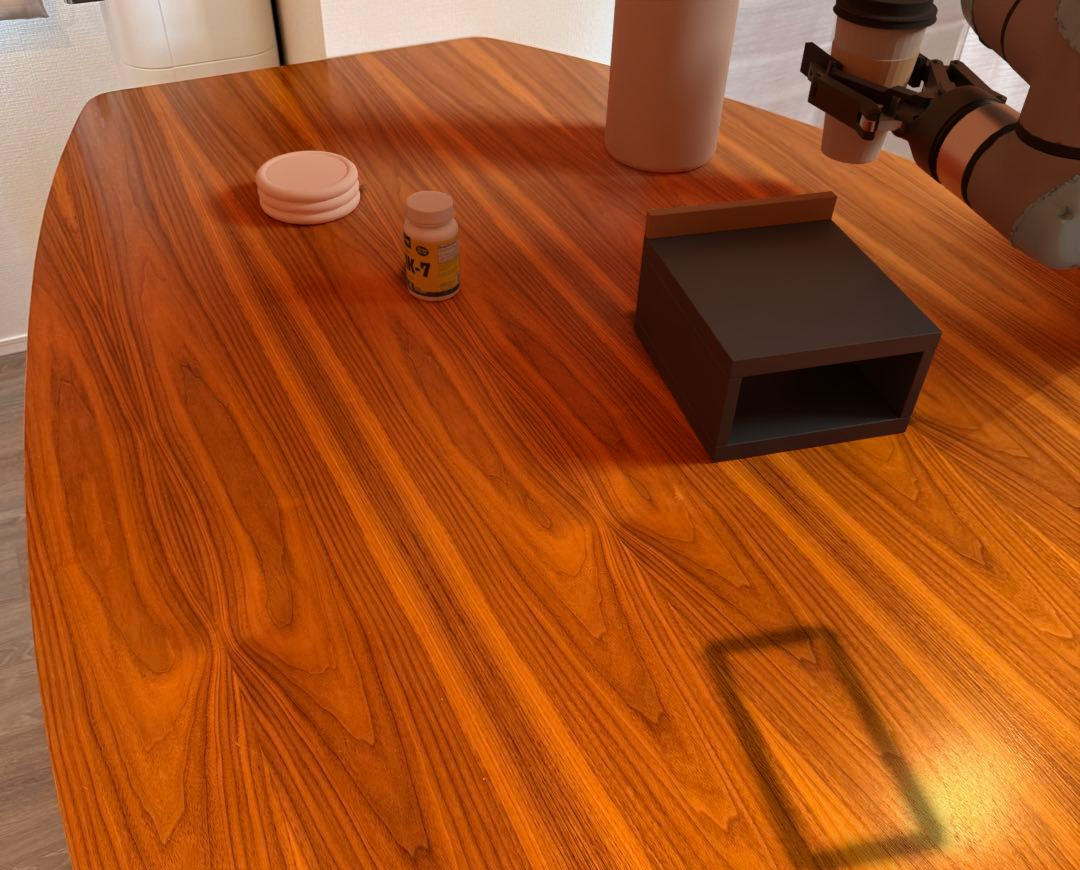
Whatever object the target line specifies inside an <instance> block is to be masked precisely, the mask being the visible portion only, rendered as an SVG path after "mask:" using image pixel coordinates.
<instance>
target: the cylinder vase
mask: <svg viewBox="0 0 1080 870" xmlns="http://www.w3.org/2000/svg"><path fill="white" fill-rule="evenodd" d="M739 6H740V0H614V10H613V21H612V22H613V23H612V34H611V35H612V36H611V37H612V38H611V50H610V62H609V63H610V64H609V76H608V77H609V78H608V79H609V80H608V88H607V89H608V91H607V104H606V116H605V117H606V118H605V128H604V130H605V131H604V146H605V149H606V151H607V152H608V154H609V155H610V156H611V157H612V158H613V159H615V161H618V162H619V163H621V164H622V165H625V166H627V167H630V168H633V169H637V170H640V171H645V172H651V173H659V174H660V173H663V174H665V173H666V174H671V173H672V174H673V173H684V172H688V171H692V170H695V169H698V168H700V167H703V166H704V165H706V164H707V163H710V161H711V160H712V159H713V157H714V156H715V154H716V152H717V146H718V139H719V133H720V127H721V120H722V113H723V106H724V101H725V95H726V90H727V89H726V88H727V83H728V76H729V69H730V63H731V57H732V50H733V44H734V37H735V33H736V32H735V31H736V24H737V18H738V12H739Z"/></svg>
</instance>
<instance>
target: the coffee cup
mask: <svg viewBox="0 0 1080 870" xmlns="http://www.w3.org/2000/svg"><path fill="white" fill-rule="evenodd" d="M934 2H935V0H835V4H834V5H833V7H832V11H833V13H834V15H835V16H836V22H835V29H834V30H835V31H834V36H833V37H834V38H833V40H832V42H831V49H830V56H832V57H833V58H834V59H836V60H838V61H840V63H841V64H842V65H843V70H842V71H844V72H847V73H849V74H852V75H855V76H857V77H860V78H863V79H866V80H868V81H871V82H874V83H876V84H879V85H882V86H885V87H887V88H892V87H894V86H897V85H899V86H902V87H905V88H908V82H909V79H910V76H911V74H912V71H913V68H914V66H915V63H916V60H917V58H918V55H919V52H920V53H921V46H922V43H923V40H924V37H925V34H926V31H927V29H928V28H929V27H932V26H933V25H935V24H936V22H937V21H938V18H937V15H938V11H939V9H938V7H937V5H936V4H935V3H934ZM900 99H901V98H899V99H898V102H899V100H900ZM897 104H898V103H897ZM896 107H897V106H896ZM888 133H889V131H877V132H876V135H875V139H874V140H871V141H867V140H864V139H862V138H861V137H860V136H859V135H858V133H857V132H856V131H855V130H854V129H852V128H851V127H849V126H847V125H845V124H844V123H842V122H840V121H839V120H837V119H835V118H834V117H832V116H830V115H829V114H827V113H825V112H824V122H823V128H822V136H821V146H820V151H821V153H822V154H823V155H824V156H825V157H826V158H828V159H831V160H833V161H836V162H839V163H843V164H848V165H866V164H869V163H872V162H874V161H876V160H877V159H878V158H879V156H880V154H881V152H882V149H883V146H884V143H885V141H886V138H887V136H888Z"/></svg>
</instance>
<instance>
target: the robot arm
mask: <svg viewBox="0 0 1080 870" xmlns="http://www.w3.org/2000/svg"><path fill="white" fill-rule="evenodd" d="M960 7H961V12H962V16H963V18H964V20H965V21H966V23H967V24H968V25H969V27H970V28H971V30H972V31H973V32H974V33H975V35H976V36H977V39H978V41H979V42H980V44H982V45H983V47H985V48H987V49H989V50H991V51H993V52H994V53H995V54H997V56H999V57H1000V58H1001V59H1002V60H1003V61H1004V62H1006V64H1008V66H1009V67H1010V68H1011V69H1012V70H1013V71H1014V72H1015V73H1016V74H1017V75H1018V76H1019V78H1021V79H1022V80H1023V81H1024V82H1025V83H1026V84H1027V85H1028V86H1029V88H1028V91H1027V93H1026V96H1025V99H1024V102H1023V105H1022V108H1021V110H1020V112H1019V111H1018V110H1017V109H1015V108H1013V107H1012V106H1010V105H1008V104H1007V101H1008V97H1007V96H1006V95H1003V94H1002V93H1000V92H998V91H995V90H993V89H992V88H991V87H990V86H989V85H988V84H987V83H986V82H985V81H983V80H982V79H981V78H980V77H979V76H978V75H977V74H976V73H975V72H974V70H973V71H972V69H971V68H970V67H969V66H968V65H966V64H965V63H964V62H963V61H961V60H959V59H954V60H953V59H952V60H950V61H949V64H946V65H945V64H944V61H942V60H941V59H938V58H933V59H930V58H928V57H927V56H926V55H924V54H923V53H921V51H920V52H919V55H918V58H917V60H916V63H915V66H914V68H913V71H912V74H911V76H910V79H909V82H908V84H907V86H909V87H910V88H912V89H910V88H908V87H906V88H905V87H902V86H899V85H897V86H894V87H892V88H887V87H885V86H882V85H879V84H876V83H874V82H871V81H868V80H866V79H863V78H860V77H857V76H855V75H852V74H849V73H847V72H844V71H842V70H843V65H842V64H841V63H840V61H838V60H836V59H834V58H833V57H832V56H831V54H829V53H828V52H826V50H824V49H822V48H821V47H820V46H818V45H817V44H816V43H815V42H813V41H807V42H805V43H804V49H803V52H802V53H803V54H802V57H801V63H800V68H799V73H801V74H802V75H803V76H805V77H806V78H807V81H809V82H810V85H809V91H808V95H807V96H808V97H807V103H809V104H810V105H812V106H813V107H815V108H817V109H819V110H820V111H822V112H823V113H824V114H825V113H827V114H829V115H830V116H832V117H834V118H835V119H837V120H839V121H840V122H842V123H844V124H845V125H847V126H849V127H851V128H852V129H854V130H855V131H856V132H857V133H858V135H859V136H860V137H861V138H862V139H864V140H867V141H871V140H874V139H875V135H876V132H877V131H888V132H891V134H892V135H893V136H894V137H896V138H899V139H901V140H904V141H906V142H907V143H908V146H909V149H910V152H911V156H912V159H913V161H914V163H915V164H916V166H917V167H918V168H919V169H920V170H921V171H923V172H924V173H925V174H926V175H928V176H929V177H930V178H932V180H934V181H935V182H936V183H937V184H939V185H941V186H942V187H944V188H945V189H946V190H947V191H949V192H950V193H951V194H952V195H954V196H955V197H957V198H958V199H959V200H960V201H962V203H964V204H965V205H966V206H967V207H969V209H970V210H972V211H973V212H974V213H975V214H976V215H977V216H979V217H980V218H981V219H982V220H984V222H986V223H987V224H988V225H989V226H990V227H992V229H994V230H995V231H996V232H998V233H999V234H1000V235H1001V236H1002V237H1004V238H1005V240H1007V241H1008V242H1009V243H1010V244H1011V246H1012V247H1013V248H1014V249H1016V250H1017V251H1020V252H1022V254H1025V255H1026V256H1028V257H1029V258H1030V259H1032V260H1033V261H1035V262H1037V263H1038V264H1041V265H1042V266H1044V267H1046V268H1048V269H1051V270H1056V271H1069V270H1072V269H1077V268H1080V0H960ZM922 82H923V84H922V86H921V83H922ZM920 87H921V91H916V90H913V89H915V88H916V89H917V88H920ZM899 98H901V99H900V100H899V102H898V99H899ZM897 103H898V104H897ZM896 106H897V107H896Z"/></svg>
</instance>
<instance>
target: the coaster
mask: <svg viewBox="0 0 1080 870" xmlns="http://www.w3.org/2000/svg"><path fill="white" fill-rule="evenodd" d="M358 178H359V172H358V169H357V167H356V165H355V164H354V162H352V161H351V160H350V159H348V158H347V157H345V156H343V155H341V154H339V153H334V152H331V151H330V152H329V151H323V150H297V151H292V152H286V153H283V154H279V155H277V156H273V157H271V158H270V159H268V160H266V161H264V162H263V164H261V166H260V167H258V169H257V171H256V172H255V179H254V181H255V183H256V186H257V195H258V197H259V205H260V207H261V209H262V211H263V212H264V213H265V214H266V215H267V216H269V217H271V218H272V219H274V220H277V221H279V222H282V223H287V224H291V225H305V226H306V225H321V224H325V223H330V222H334V221H337V220H341V219H343V218H344V217H346V216H348V215H350V214H351V213H352V212H353V211H354V210H355V209H356V208H357V207H358V205H359V204H360V200H361V191H360V183H359V179H358Z"/></svg>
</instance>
